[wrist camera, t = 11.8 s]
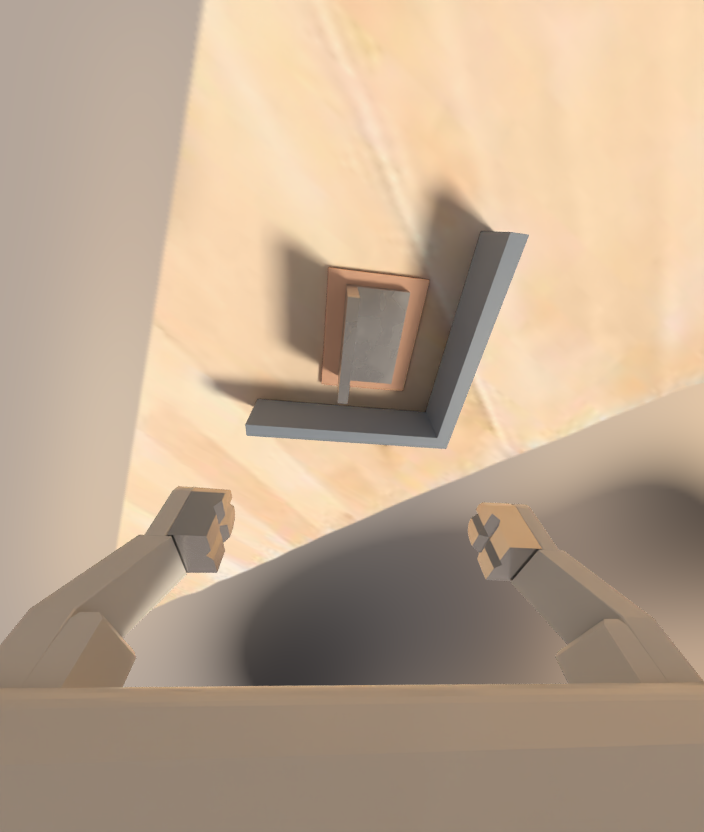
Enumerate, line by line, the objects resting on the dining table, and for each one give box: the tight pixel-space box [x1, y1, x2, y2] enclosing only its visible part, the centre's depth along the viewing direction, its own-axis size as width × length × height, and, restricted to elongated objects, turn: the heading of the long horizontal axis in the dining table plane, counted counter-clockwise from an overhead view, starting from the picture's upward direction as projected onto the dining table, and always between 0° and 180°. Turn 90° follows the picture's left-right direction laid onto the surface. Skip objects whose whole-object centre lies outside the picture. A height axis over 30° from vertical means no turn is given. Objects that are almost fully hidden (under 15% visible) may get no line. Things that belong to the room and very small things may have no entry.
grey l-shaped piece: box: [245, 231, 529, 449], centre depth 23 cm, size 17×18×4 cm
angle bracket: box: [338, 284, 410, 404], centre depth 23 cm, size 8×5×5 cm, turn 174°
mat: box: [321, 267, 430, 391], centre depth 25 cm, size 10×8×1 cm
